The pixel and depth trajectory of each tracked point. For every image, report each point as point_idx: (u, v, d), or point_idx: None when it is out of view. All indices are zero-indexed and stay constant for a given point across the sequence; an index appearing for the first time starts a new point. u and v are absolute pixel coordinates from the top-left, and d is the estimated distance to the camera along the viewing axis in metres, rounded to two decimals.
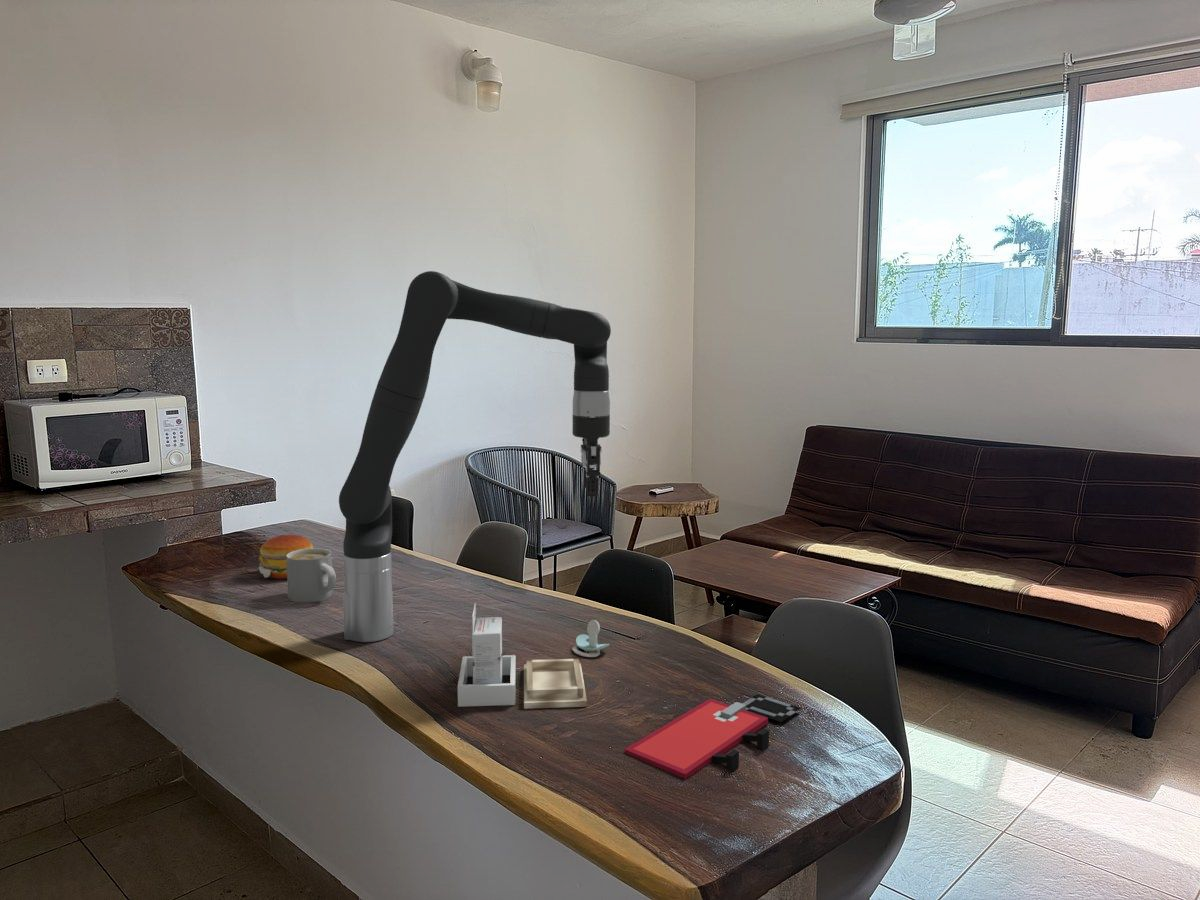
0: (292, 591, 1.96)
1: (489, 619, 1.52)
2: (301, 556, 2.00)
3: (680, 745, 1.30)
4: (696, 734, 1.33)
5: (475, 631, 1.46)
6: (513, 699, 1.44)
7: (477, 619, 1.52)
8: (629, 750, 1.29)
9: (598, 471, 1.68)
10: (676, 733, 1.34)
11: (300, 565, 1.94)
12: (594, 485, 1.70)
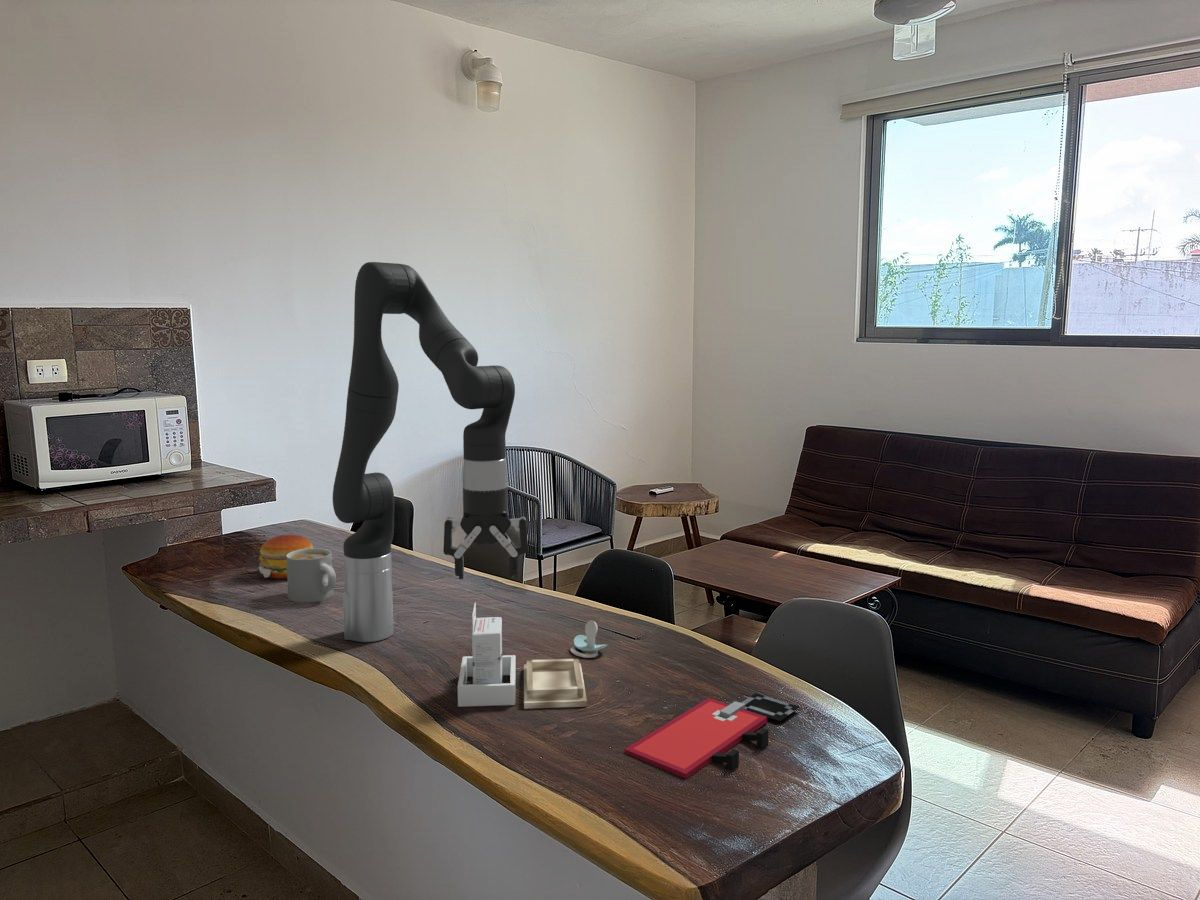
0: (292, 591, 1.96)
1: (489, 619, 1.52)
2: (301, 556, 2.00)
3: (679, 744, 1.30)
4: (696, 733, 1.33)
5: (475, 631, 1.46)
6: (513, 699, 1.44)
7: (477, 619, 1.52)
8: (629, 750, 1.29)
9: None
10: (676, 733, 1.34)
11: (300, 565, 1.94)
12: None
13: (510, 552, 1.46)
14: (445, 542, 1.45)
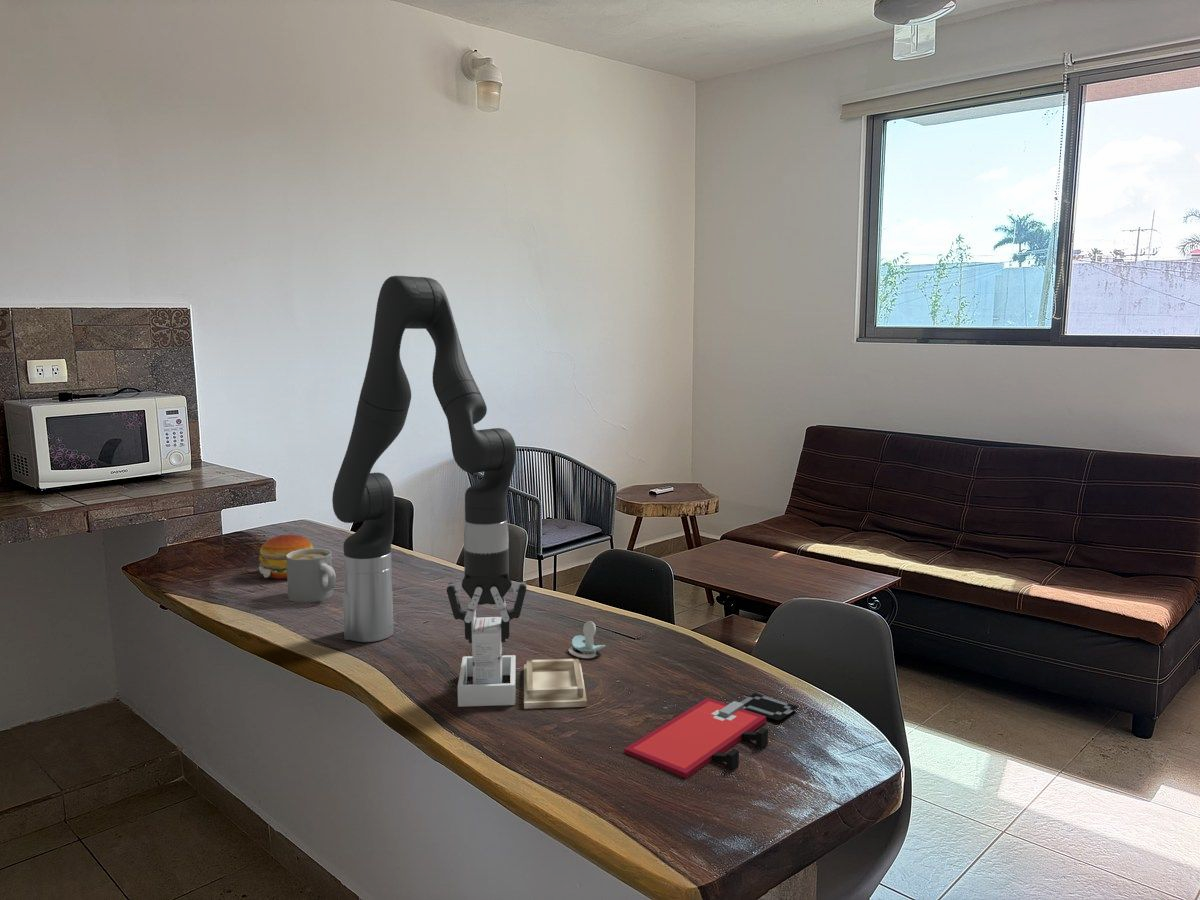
0: (292, 591, 1.96)
1: (489, 619, 1.52)
2: (301, 556, 2.00)
3: (679, 744, 1.30)
4: (695, 733, 1.33)
5: (475, 631, 1.46)
6: (513, 699, 1.44)
7: (477, 619, 1.52)
8: (629, 750, 1.29)
9: None
10: (675, 733, 1.34)
11: (300, 565, 1.94)
12: None
13: (502, 617, 1.48)
14: (453, 608, 1.47)
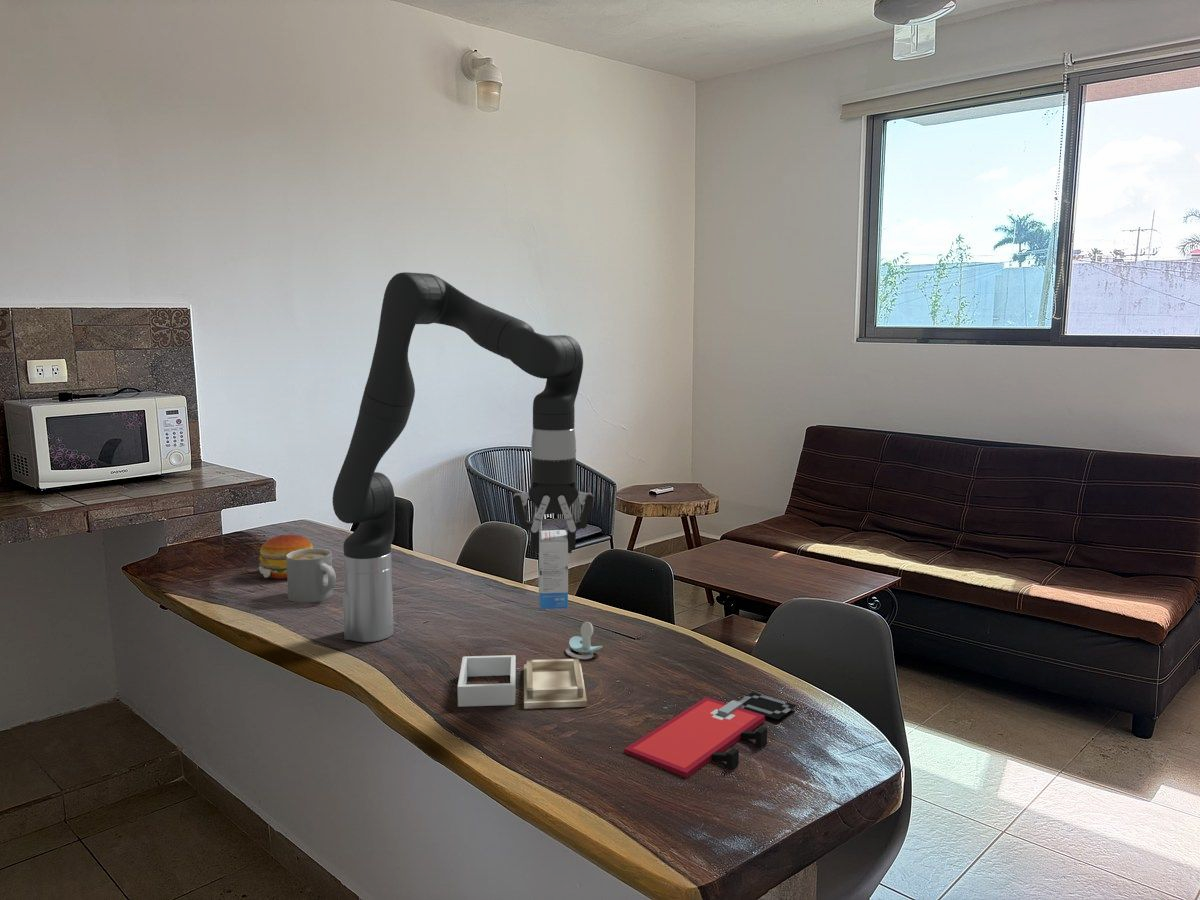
0: (292, 591, 1.96)
1: (554, 531, 1.50)
2: (301, 556, 2.00)
3: (679, 744, 1.30)
4: (695, 733, 1.34)
5: (542, 540, 1.45)
6: (513, 699, 1.44)
7: (541, 531, 1.51)
8: (629, 750, 1.29)
9: None
10: (675, 732, 1.34)
11: (300, 565, 1.94)
12: None
13: (569, 527, 1.46)
14: (519, 517, 1.45)
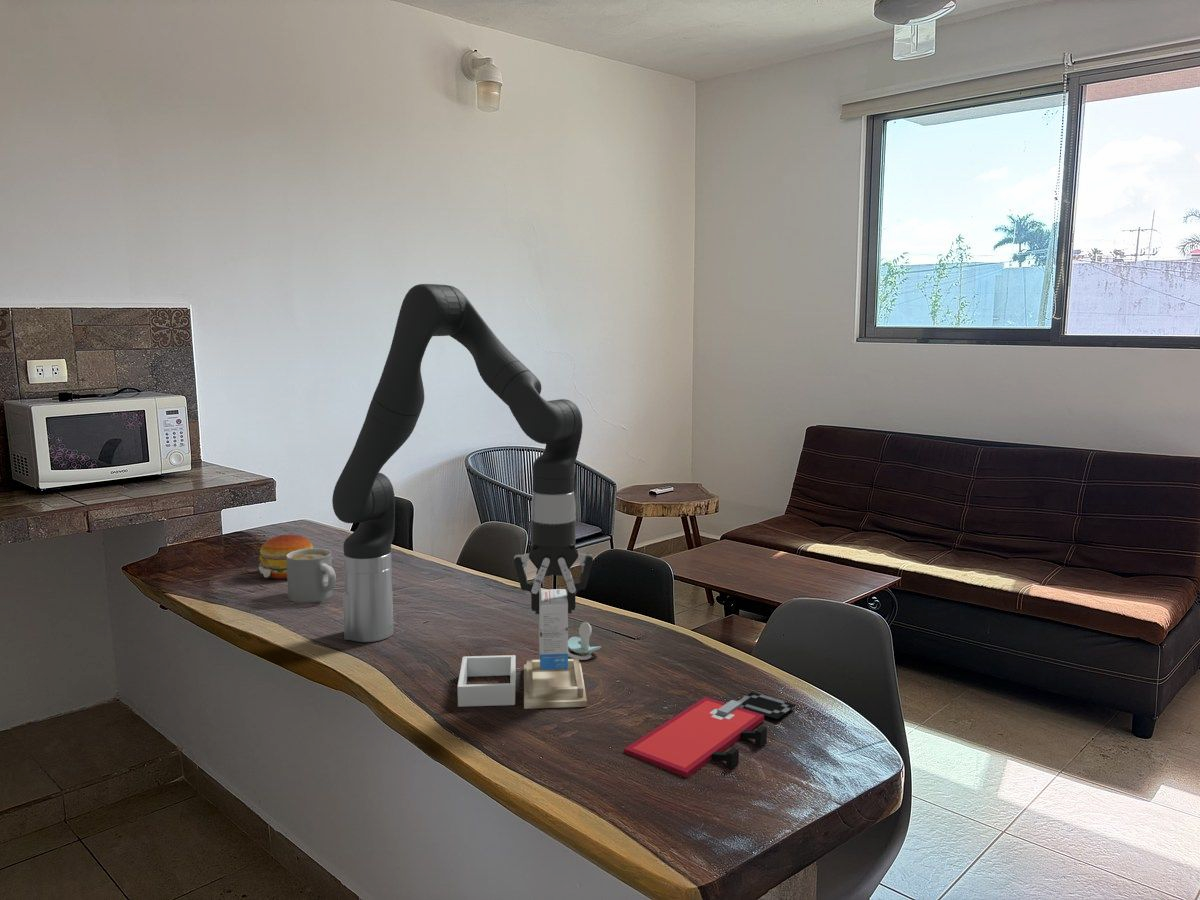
0: (292, 591, 1.96)
1: (554, 591, 1.52)
2: (301, 556, 2.00)
3: (679, 743, 1.30)
4: (694, 732, 1.34)
5: (542, 602, 1.46)
6: (513, 699, 1.44)
7: (542, 591, 1.52)
8: (629, 750, 1.29)
9: None
10: (674, 732, 1.34)
11: (300, 565, 1.94)
12: None
13: (568, 588, 1.48)
14: (520, 579, 1.47)
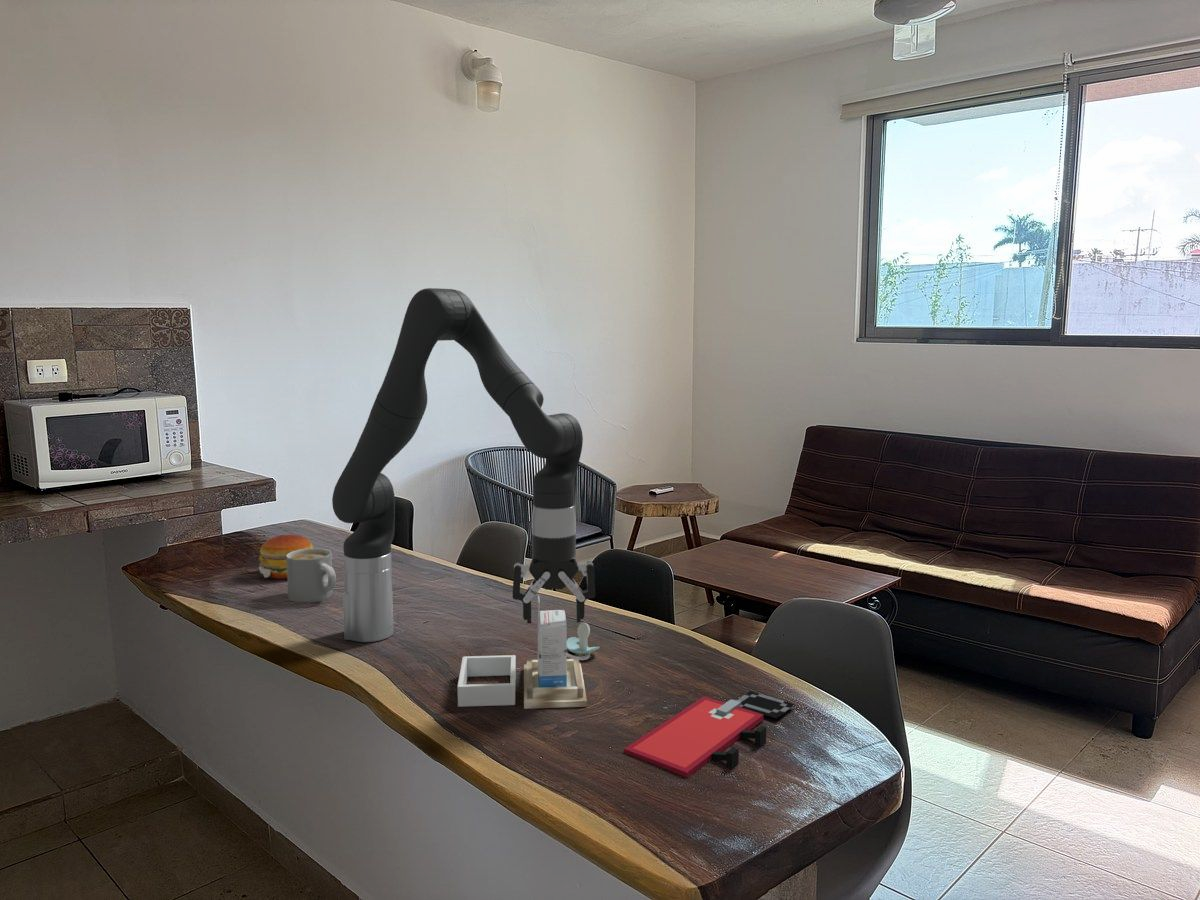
0: (292, 591, 1.96)
1: (552, 612, 1.53)
2: (301, 556, 2.00)
3: (678, 743, 1.30)
4: (694, 732, 1.34)
5: (541, 624, 1.47)
6: (513, 699, 1.44)
7: (540, 612, 1.53)
8: (629, 750, 1.29)
9: None
10: (674, 732, 1.34)
11: (300, 565, 1.94)
12: None
13: (578, 597, 1.48)
14: (514, 587, 1.47)
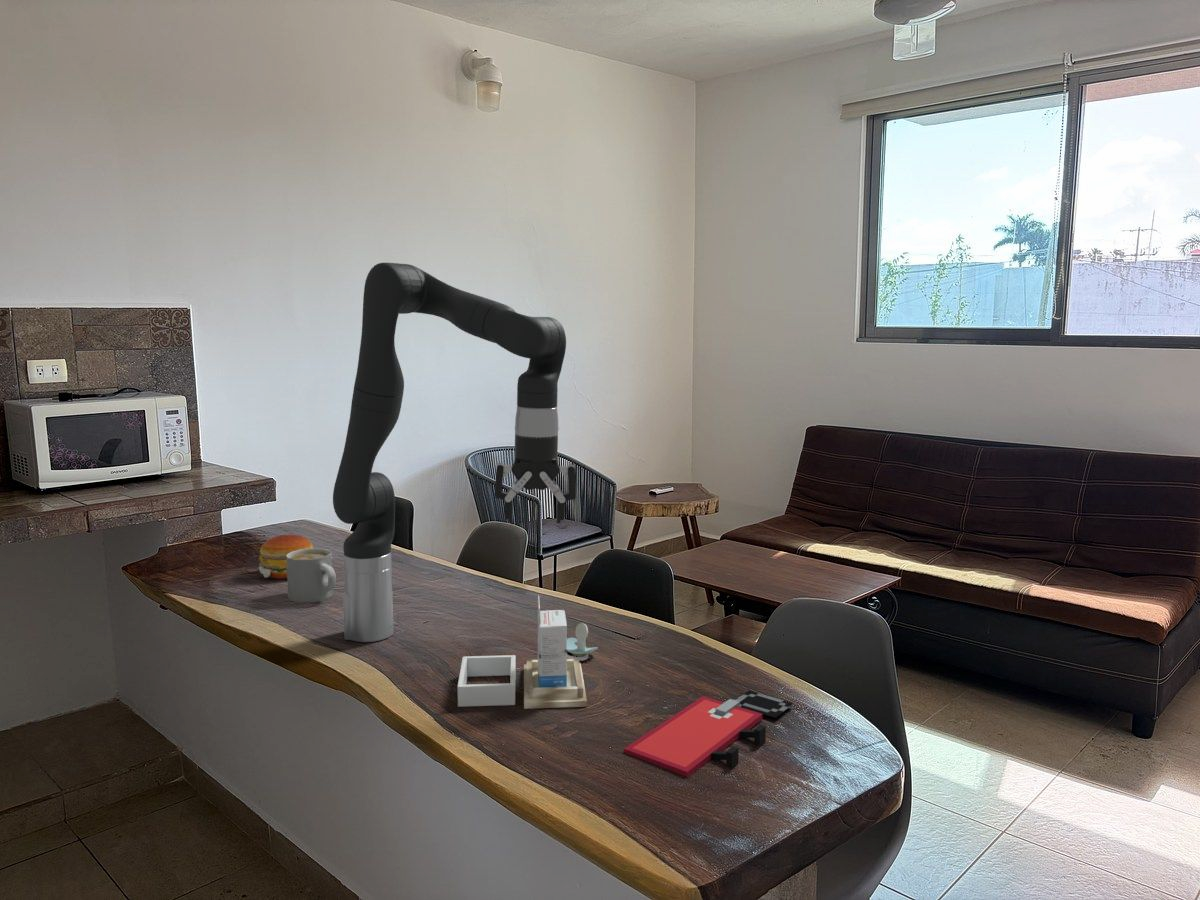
0: (292, 591, 1.96)
1: (552, 612, 1.53)
2: (301, 556, 2.00)
3: (678, 743, 1.30)
4: (693, 732, 1.34)
5: (541, 624, 1.47)
6: (513, 699, 1.44)
7: (540, 612, 1.53)
8: (629, 749, 1.29)
9: None
10: (673, 732, 1.34)
11: (300, 565, 1.94)
12: None
13: (558, 498, 1.52)
14: (496, 486, 1.51)
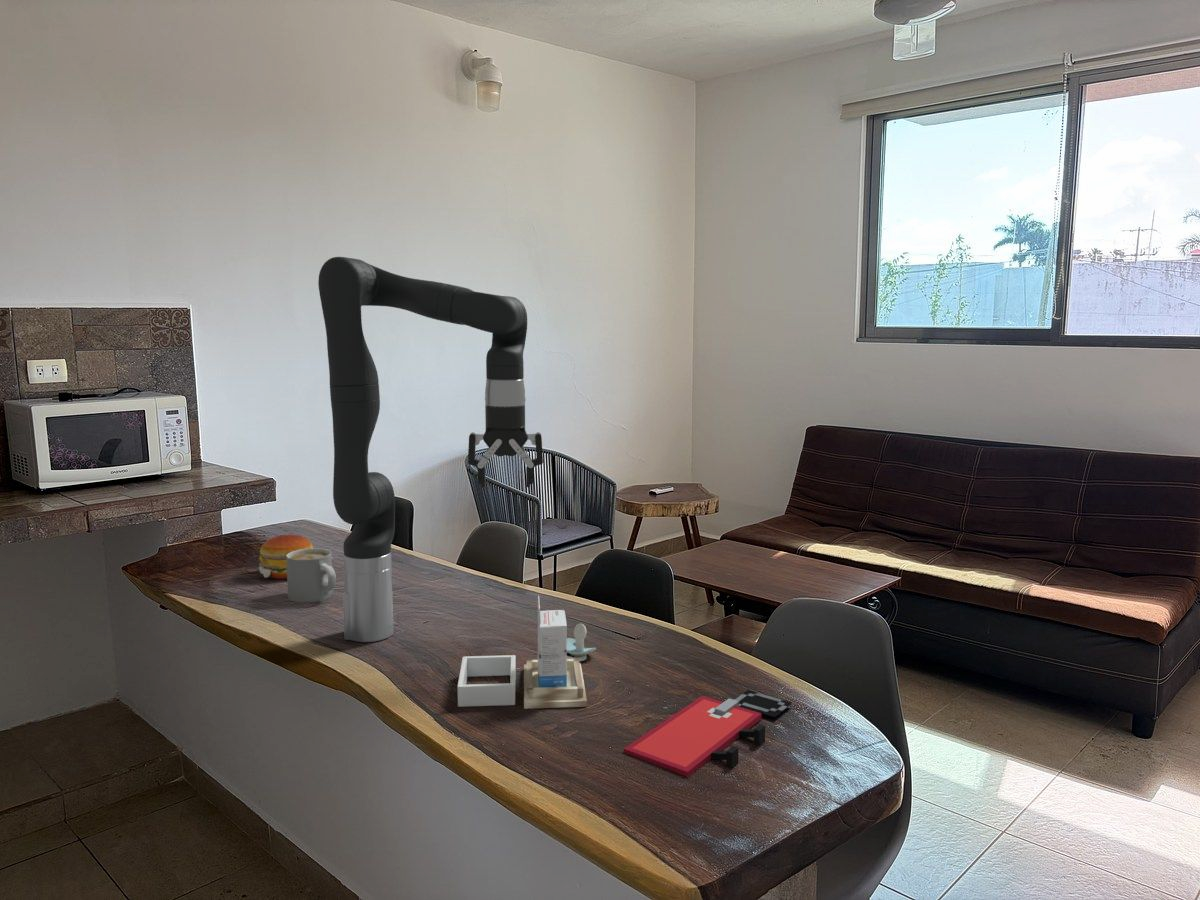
0: (292, 591, 1.96)
1: (552, 612, 1.53)
2: (301, 556, 2.00)
3: (678, 743, 1.31)
4: (693, 731, 1.34)
5: (541, 624, 1.47)
6: (513, 699, 1.44)
7: (540, 612, 1.53)
8: (628, 749, 1.29)
9: None
10: (673, 732, 1.34)
11: (300, 565, 1.94)
12: None
13: (527, 463, 1.64)
14: (469, 453, 1.63)
